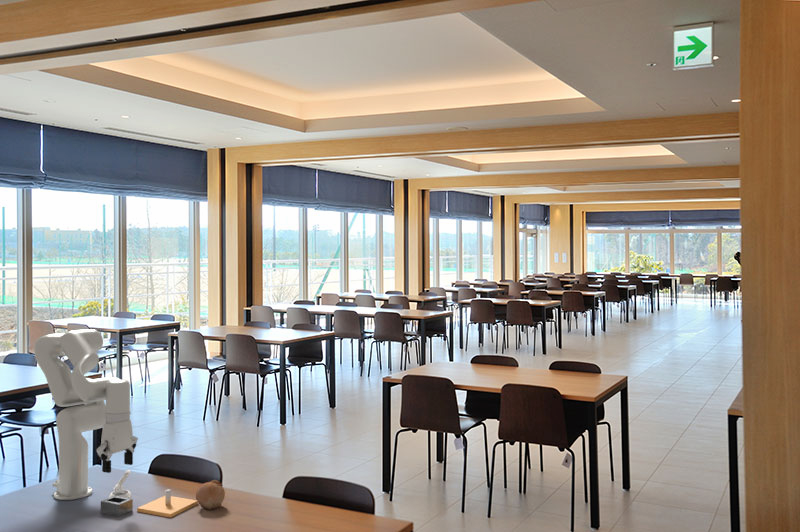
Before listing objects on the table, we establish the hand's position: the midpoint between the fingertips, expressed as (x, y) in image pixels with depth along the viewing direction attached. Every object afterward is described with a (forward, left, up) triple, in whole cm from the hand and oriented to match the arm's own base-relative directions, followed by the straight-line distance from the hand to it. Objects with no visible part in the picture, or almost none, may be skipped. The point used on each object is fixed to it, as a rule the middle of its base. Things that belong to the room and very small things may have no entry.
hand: (117, 468), depth 231 cm
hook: (-10, +12, -15) cm, 22 cm away
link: (0, 0, -15) cm, 15 cm away
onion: (+26, +16, -15) cm, 34 cm away
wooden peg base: (+13, +10, -15) cm, 22 cm away
